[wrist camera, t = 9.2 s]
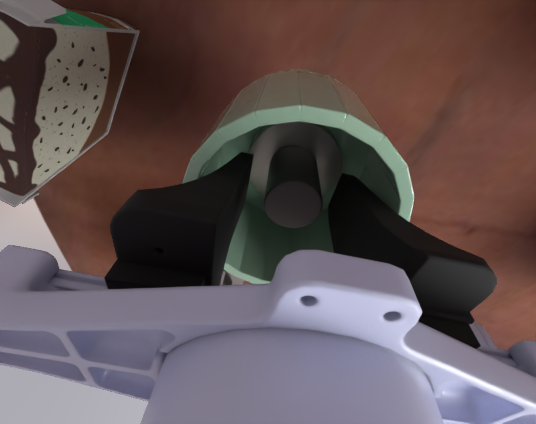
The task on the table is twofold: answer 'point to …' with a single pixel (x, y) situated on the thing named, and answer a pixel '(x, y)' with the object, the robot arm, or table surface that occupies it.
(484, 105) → the table surface
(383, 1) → the table surface
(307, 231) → the cup
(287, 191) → the lid
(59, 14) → the food container
